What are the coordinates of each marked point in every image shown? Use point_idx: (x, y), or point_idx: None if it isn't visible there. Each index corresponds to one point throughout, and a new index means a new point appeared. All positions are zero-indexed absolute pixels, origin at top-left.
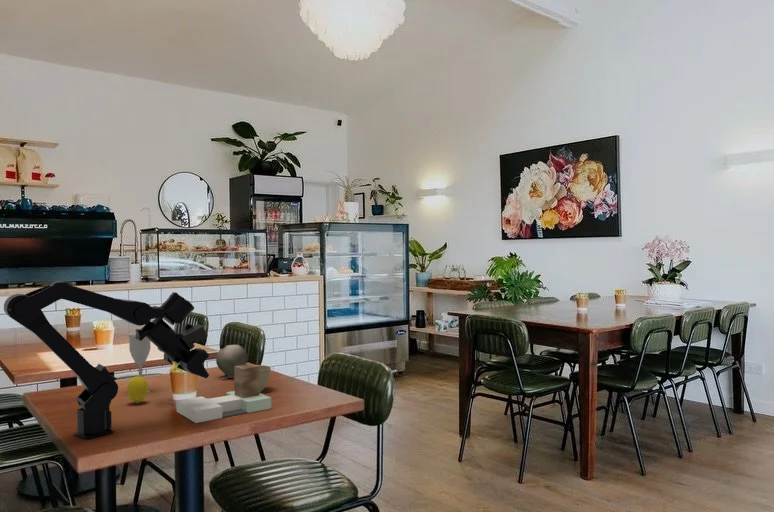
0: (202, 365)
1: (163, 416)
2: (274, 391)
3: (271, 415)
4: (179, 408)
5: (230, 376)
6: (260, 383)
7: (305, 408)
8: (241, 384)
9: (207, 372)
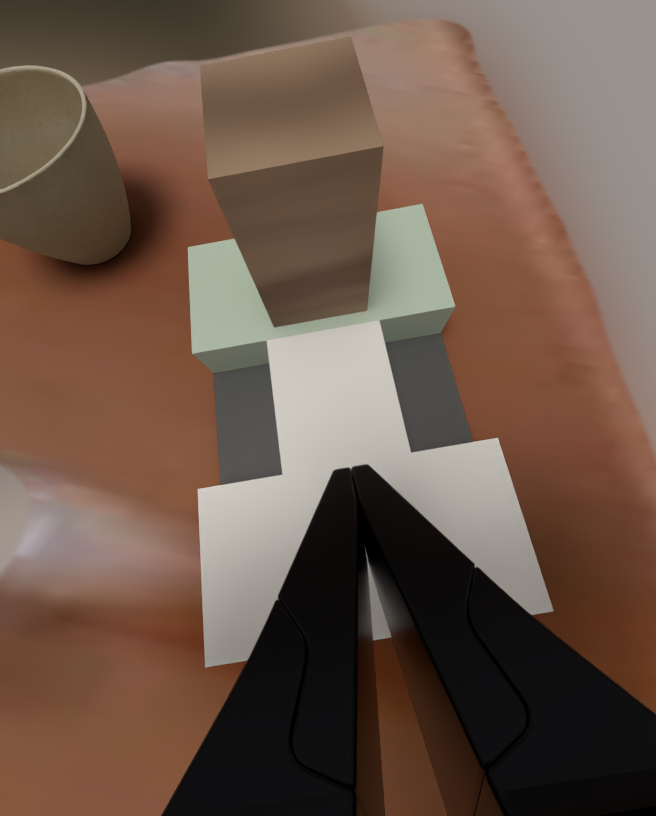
0: (514, 608)
1: None
2: (157, 181)
3: (515, 266)
4: None
5: None
6: (122, 187)
7: (466, 152)
8: (359, 261)
9: (388, 483)
